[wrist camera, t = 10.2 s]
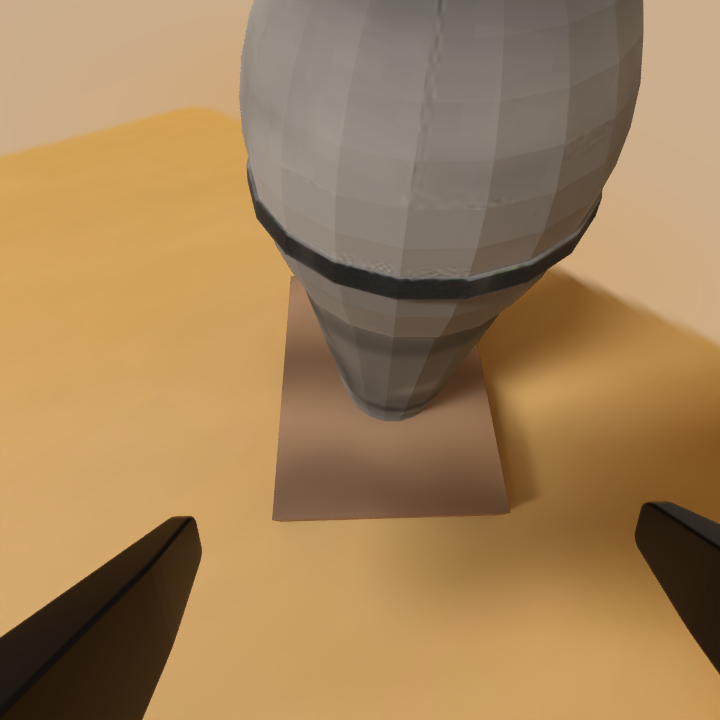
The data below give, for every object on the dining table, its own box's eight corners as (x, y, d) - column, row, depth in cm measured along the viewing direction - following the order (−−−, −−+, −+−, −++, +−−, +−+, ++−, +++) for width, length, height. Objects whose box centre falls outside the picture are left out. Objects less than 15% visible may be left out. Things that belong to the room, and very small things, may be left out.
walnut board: (499, 515, 16) (510, 512, 15) (280, 521, 16) (272, 519, 15) (456, 286, 22) (462, 270, 21) (295, 292, 22) (291, 276, 21)
